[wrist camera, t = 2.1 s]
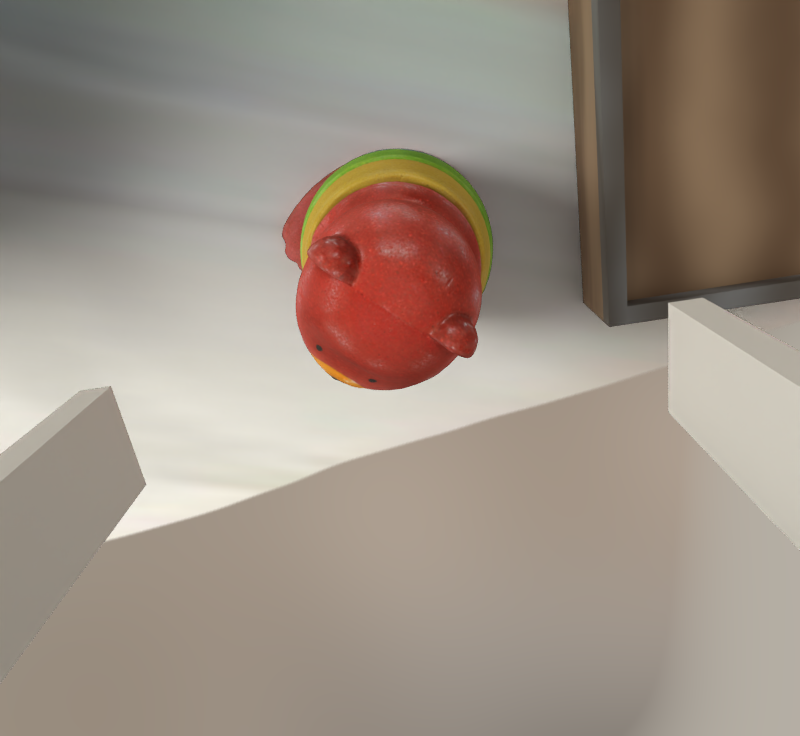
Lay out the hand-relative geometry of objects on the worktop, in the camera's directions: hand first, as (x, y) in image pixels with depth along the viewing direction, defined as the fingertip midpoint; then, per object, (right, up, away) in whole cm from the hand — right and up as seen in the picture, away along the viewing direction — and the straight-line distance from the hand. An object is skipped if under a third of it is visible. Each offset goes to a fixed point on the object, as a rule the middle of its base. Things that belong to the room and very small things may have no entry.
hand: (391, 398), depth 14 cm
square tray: (+19, +14, +20) cm, 31 cm away
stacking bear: (0, +9, +22) cm, 24 cm away
